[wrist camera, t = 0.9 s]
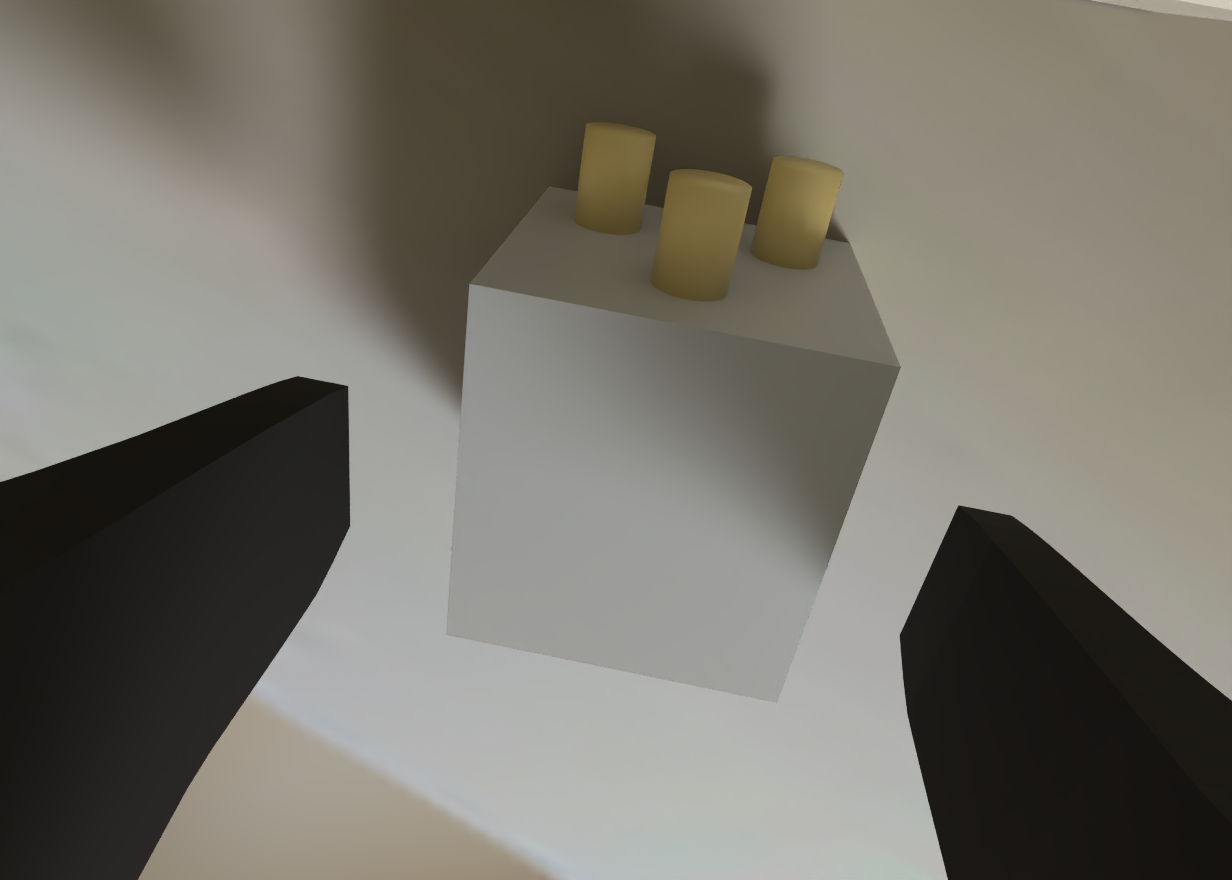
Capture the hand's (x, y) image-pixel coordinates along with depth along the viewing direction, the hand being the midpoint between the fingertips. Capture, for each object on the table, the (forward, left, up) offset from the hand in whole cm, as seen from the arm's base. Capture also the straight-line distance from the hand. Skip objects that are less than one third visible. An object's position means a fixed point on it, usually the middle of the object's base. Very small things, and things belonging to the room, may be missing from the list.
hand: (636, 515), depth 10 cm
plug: (0, 0, -4) cm, 4 cm away
